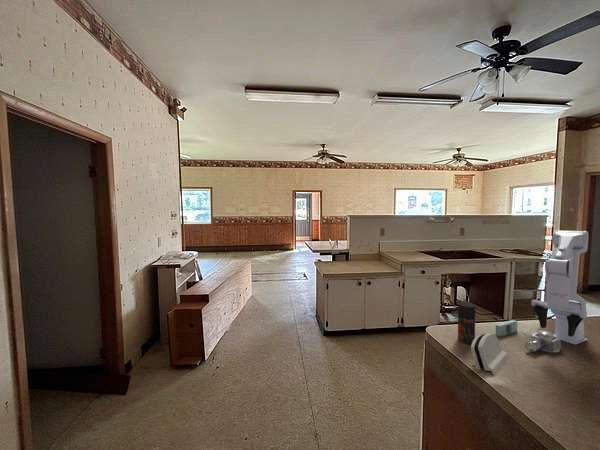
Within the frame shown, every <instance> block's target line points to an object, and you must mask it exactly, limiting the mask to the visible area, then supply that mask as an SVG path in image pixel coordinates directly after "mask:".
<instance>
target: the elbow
mask: <svg viewBox="0 0 600 450" xmlns="http://www.w3.org/2000/svg"><path fill="white" fill-rule="evenodd" d="M561 341H562V340H561V339H560V338H559V337H556V336H554V337H553V340H547V339H544V338H541V337H539V334H538V331H536V332H533V333H530V341H526V342H525V343H524V347H525V349H526V350H527V351H528V352H531V353H534V352H537V350H539V349H541V348H544V349H547V350H549V351H551V350H552V351H554V350H557V349H561V348H562V344H561V343H562V342H561Z"/></svg>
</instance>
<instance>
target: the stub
mask: <svg viewBox="0 0 600 450" xmlns="http://www.w3.org/2000/svg"><path fill="white" fill-rule="evenodd" d="M537 332H538V334H539V337H541V338H544V339H547V340H553V337H554V334H555V333H552V332H550V331H546V330H538V331H537ZM538 350H540V351H542V352H547V353H554V354H555V353H560V351H561V348H559V349H557V350H554V351H552V350H551V351H549V350H547V349H544V348H541V349H538Z"/></svg>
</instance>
